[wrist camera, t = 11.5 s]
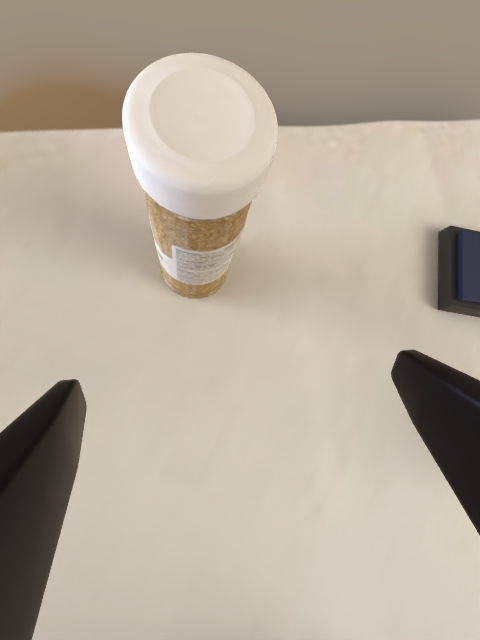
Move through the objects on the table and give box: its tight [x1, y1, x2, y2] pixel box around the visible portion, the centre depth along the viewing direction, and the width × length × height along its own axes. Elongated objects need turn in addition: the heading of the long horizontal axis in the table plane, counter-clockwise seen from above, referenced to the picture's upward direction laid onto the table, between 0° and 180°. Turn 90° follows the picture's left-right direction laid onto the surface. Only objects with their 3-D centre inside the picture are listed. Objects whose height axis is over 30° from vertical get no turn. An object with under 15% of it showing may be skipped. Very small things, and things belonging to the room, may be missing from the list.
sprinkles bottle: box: [122, 53, 278, 298], centre depth 16 cm, size 5×4×13 cm
